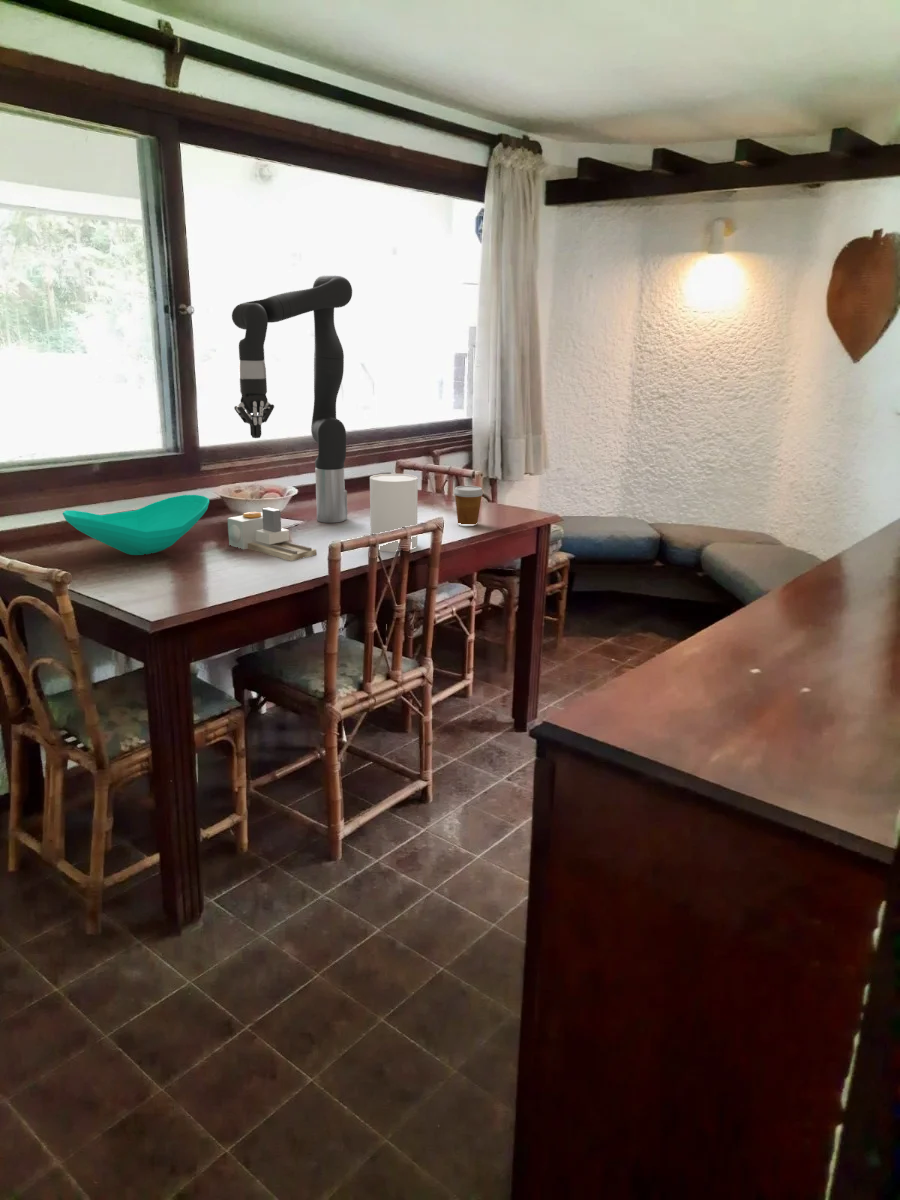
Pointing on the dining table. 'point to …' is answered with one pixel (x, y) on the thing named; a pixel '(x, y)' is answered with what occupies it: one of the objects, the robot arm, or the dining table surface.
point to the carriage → (272, 528)
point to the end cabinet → (243, 530)
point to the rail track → (283, 549)
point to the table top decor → (142, 524)
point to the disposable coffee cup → (468, 503)
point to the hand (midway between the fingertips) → (256, 437)
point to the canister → (393, 504)
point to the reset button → (252, 515)
